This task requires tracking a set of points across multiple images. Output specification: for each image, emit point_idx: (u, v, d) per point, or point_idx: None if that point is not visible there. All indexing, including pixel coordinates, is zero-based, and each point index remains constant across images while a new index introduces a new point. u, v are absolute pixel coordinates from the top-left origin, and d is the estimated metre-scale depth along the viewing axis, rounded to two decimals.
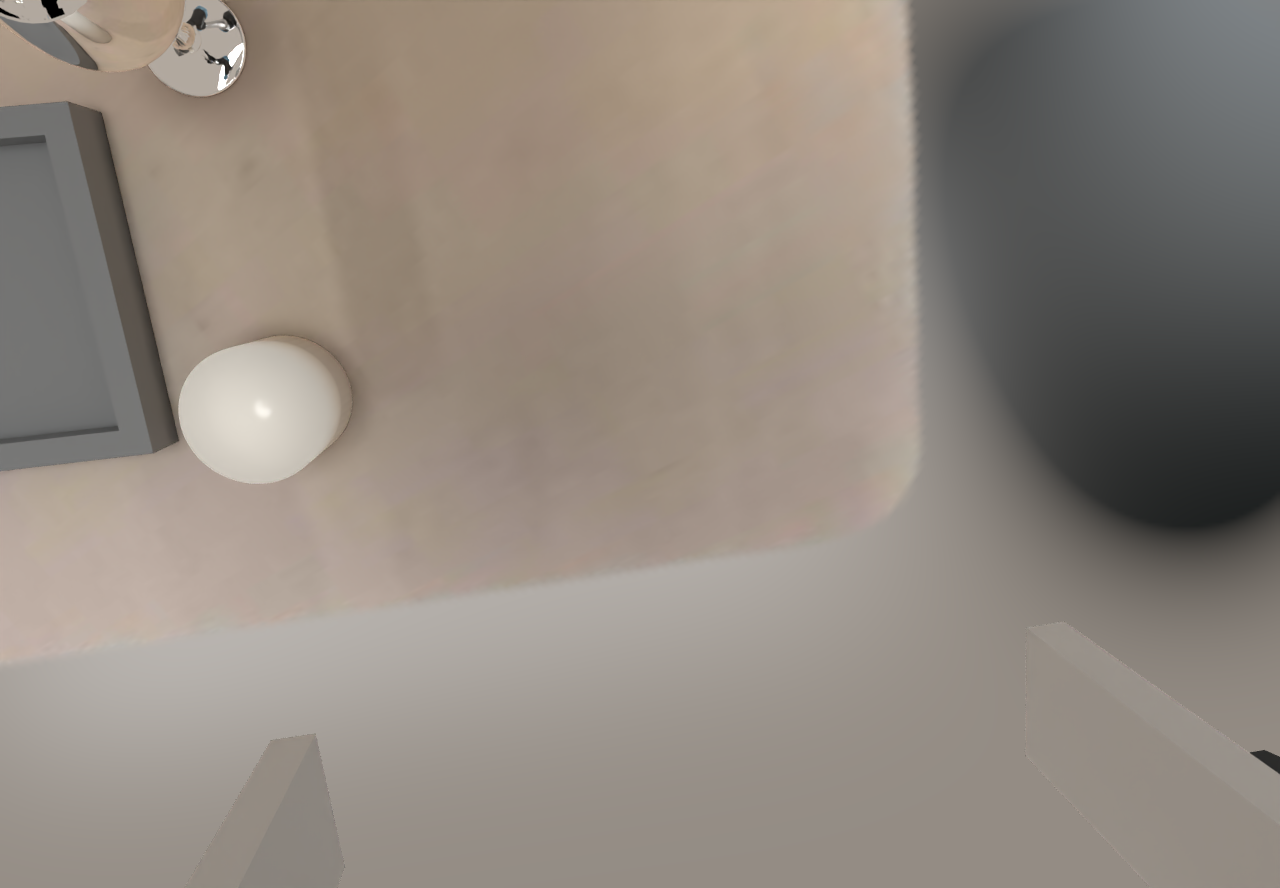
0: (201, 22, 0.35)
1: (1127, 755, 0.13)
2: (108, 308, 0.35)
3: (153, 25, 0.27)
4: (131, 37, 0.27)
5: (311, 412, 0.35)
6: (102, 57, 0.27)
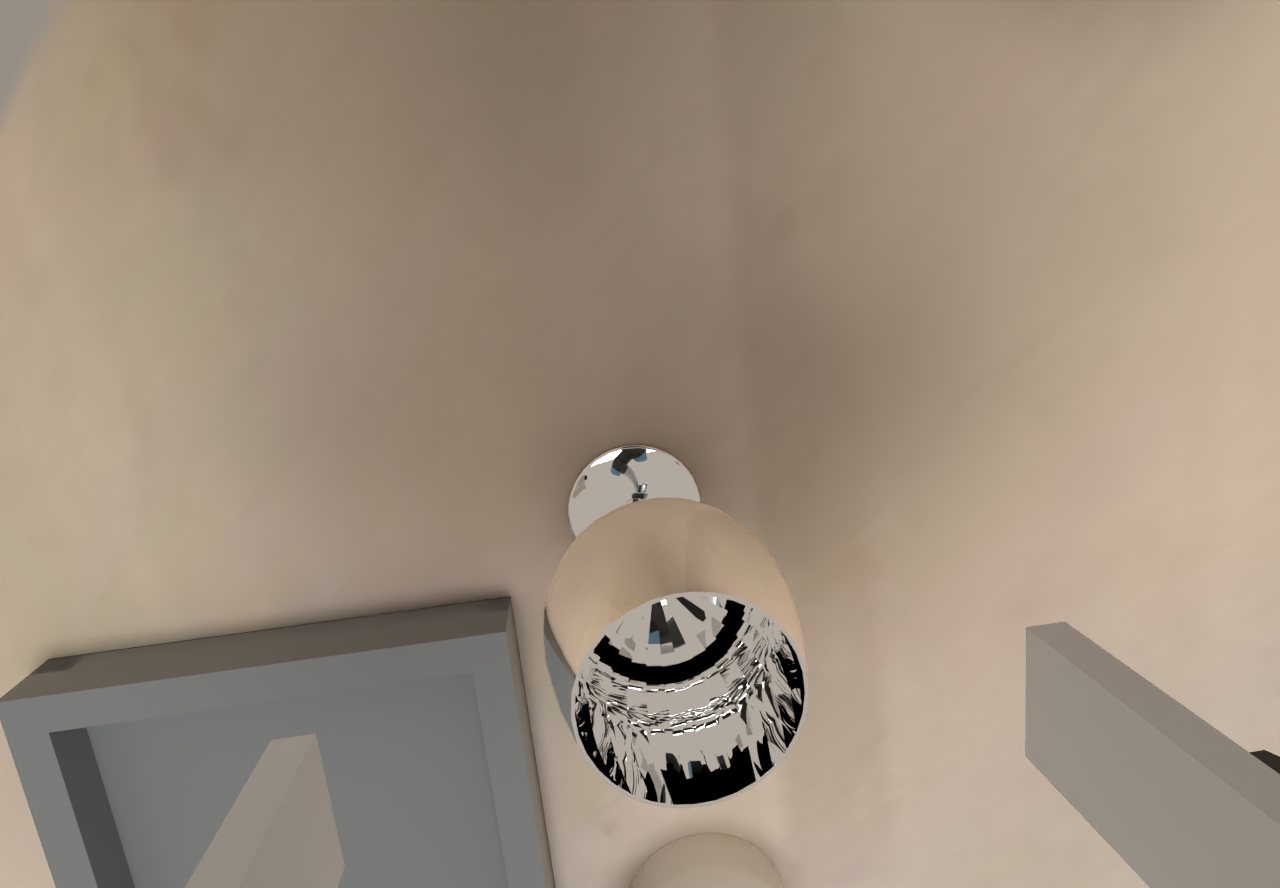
0: (655, 493, 0.27)
1: (1127, 755, 0.13)
2: (530, 864, 0.27)
3: None
4: None
5: None
6: (705, 752, 0.19)
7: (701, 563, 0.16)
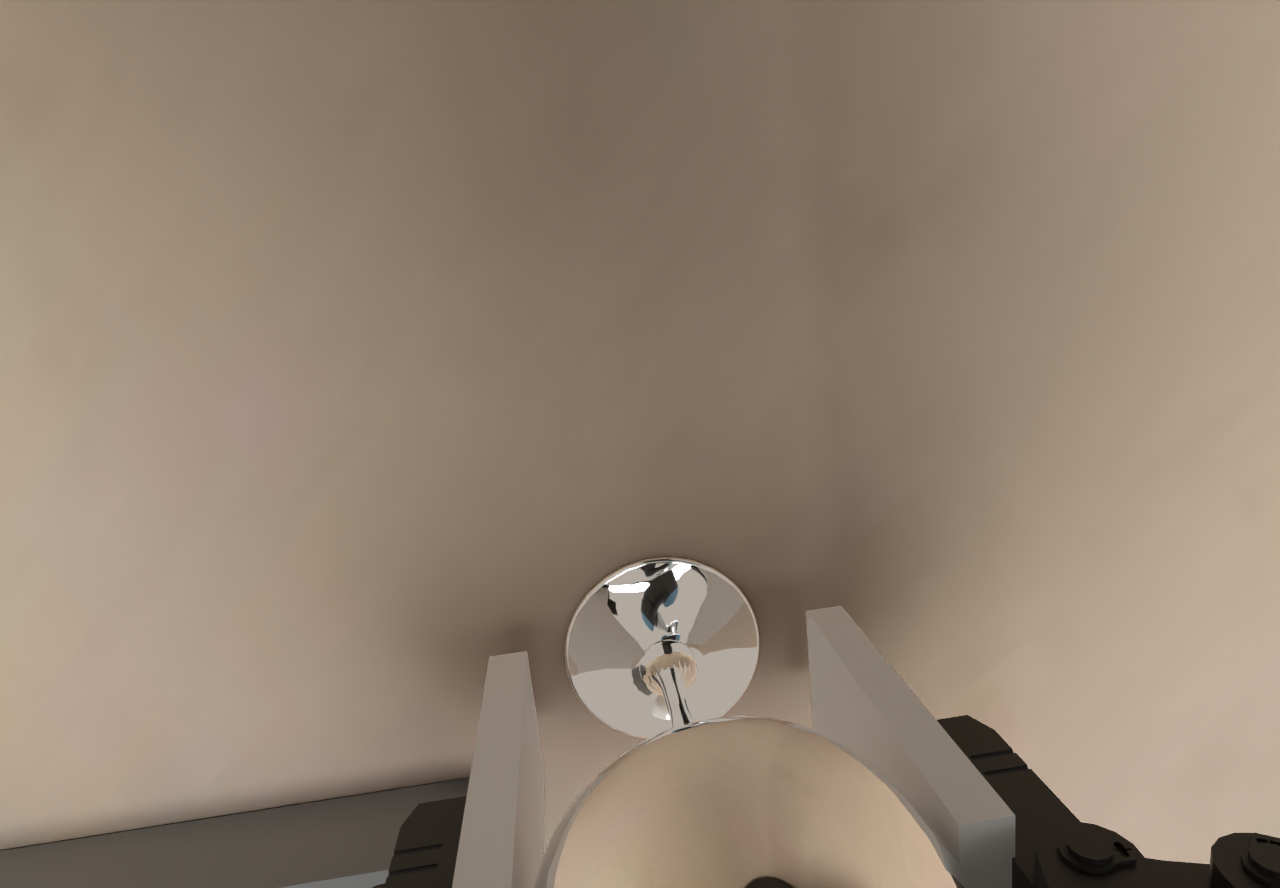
0: (695, 630, 0.18)
1: (856, 720, 0.14)
2: None
3: None
4: None
5: None
6: None
7: None
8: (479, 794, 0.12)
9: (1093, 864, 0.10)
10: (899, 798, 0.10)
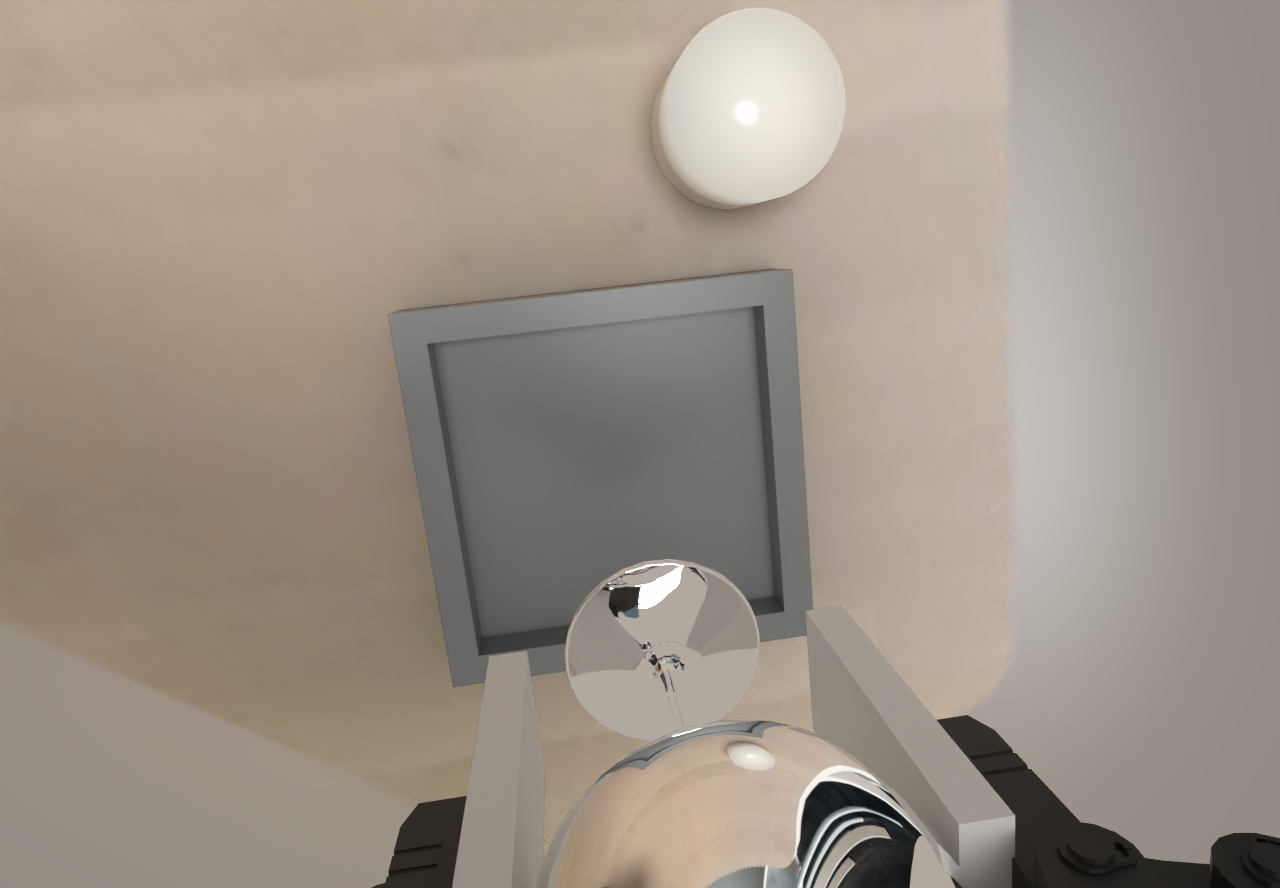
0: (695, 632, 0.18)
1: (856, 720, 0.14)
2: (620, 299, 0.30)
3: None
4: None
5: (756, 26, 0.26)
6: None
7: None
8: (479, 794, 0.12)
9: (1093, 864, 0.10)
10: (900, 802, 0.10)
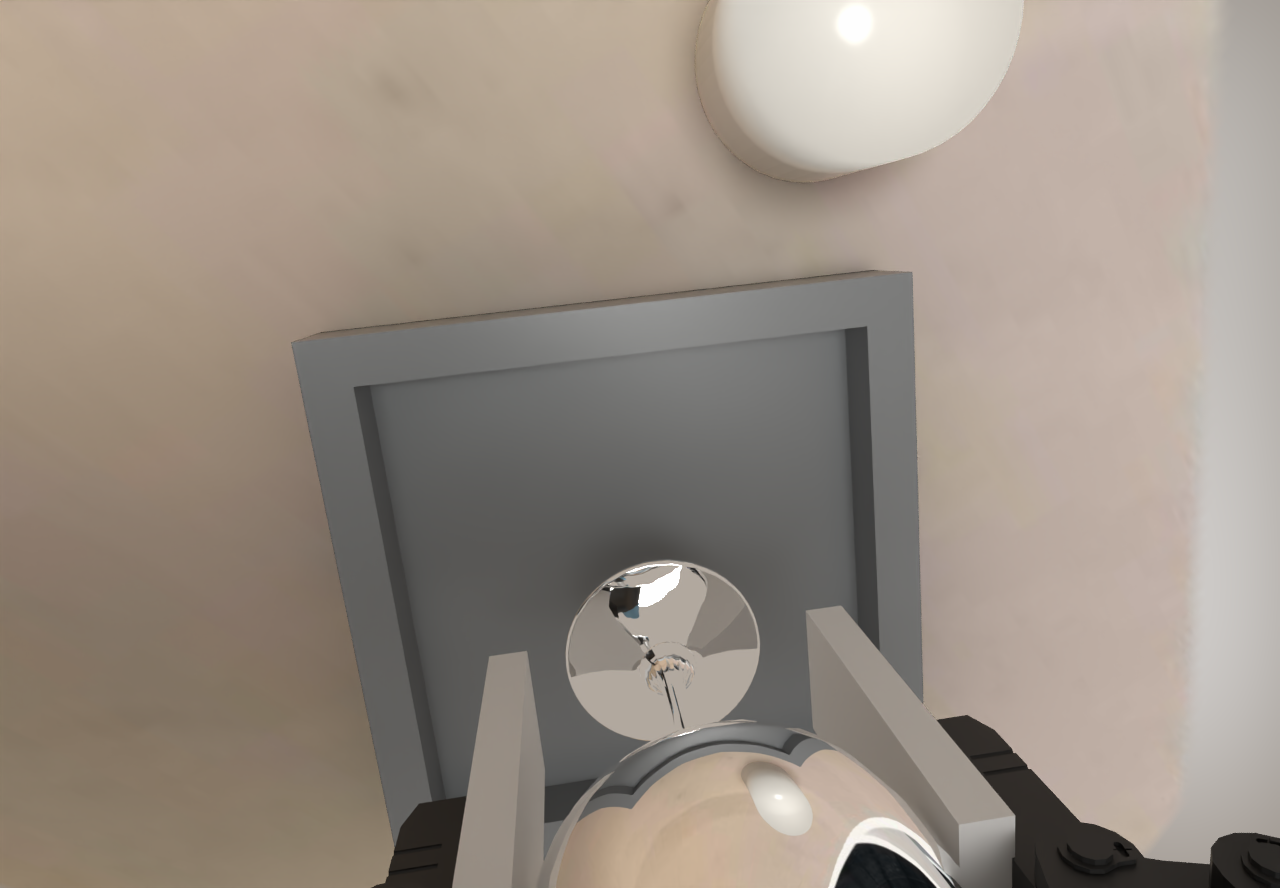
0: (695, 632, 0.18)
1: (856, 721, 0.14)
2: (651, 318, 0.20)
3: None
4: None
5: None
6: None
7: None
8: (479, 794, 0.12)
9: (1093, 864, 0.10)
10: (900, 803, 0.10)
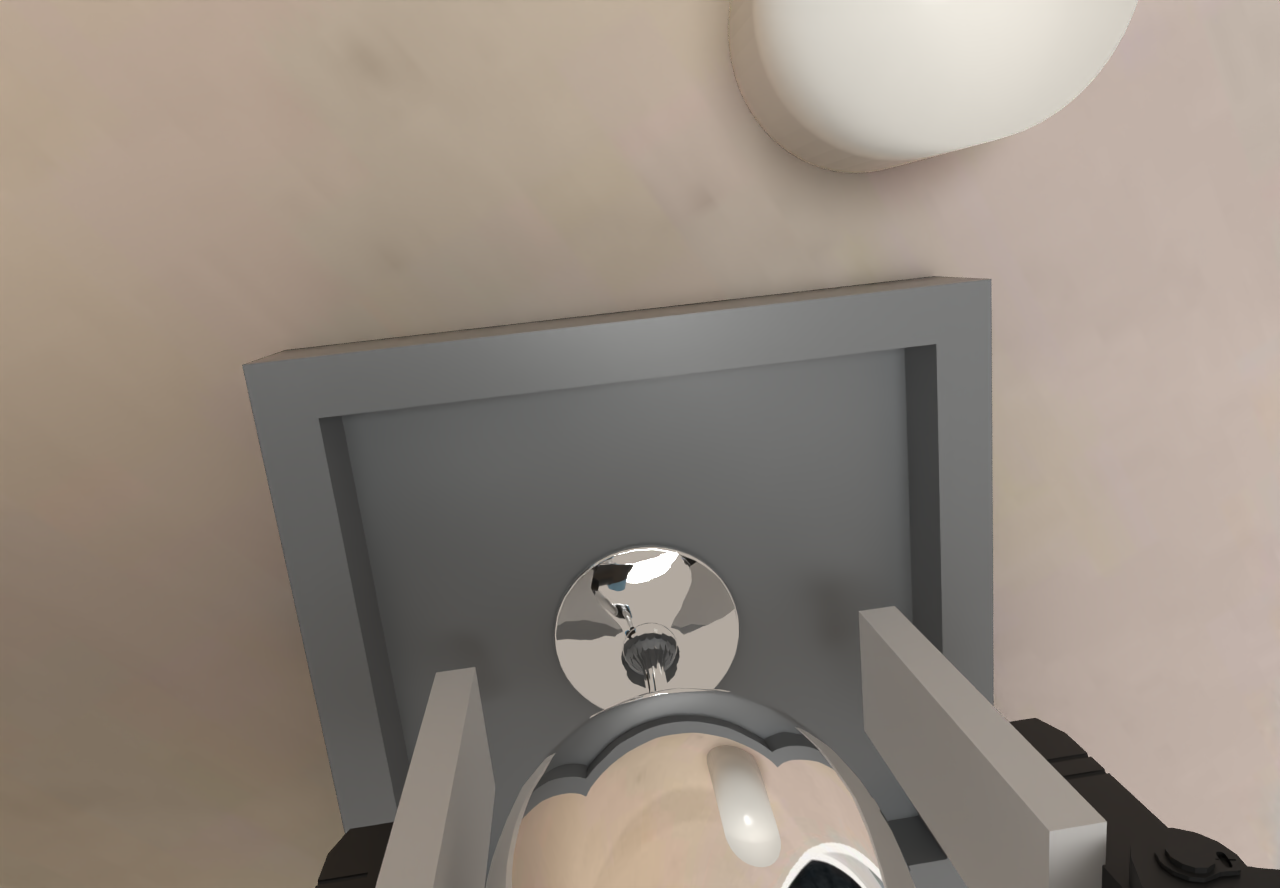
0: (677, 614, 0.19)
1: (920, 723, 0.14)
2: (678, 334, 0.16)
3: None
4: None
5: None
6: None
7: None
8: (406, 821, 0.12)
9: (1193, 872, 0.09)
10: (834, 763, 0.11)
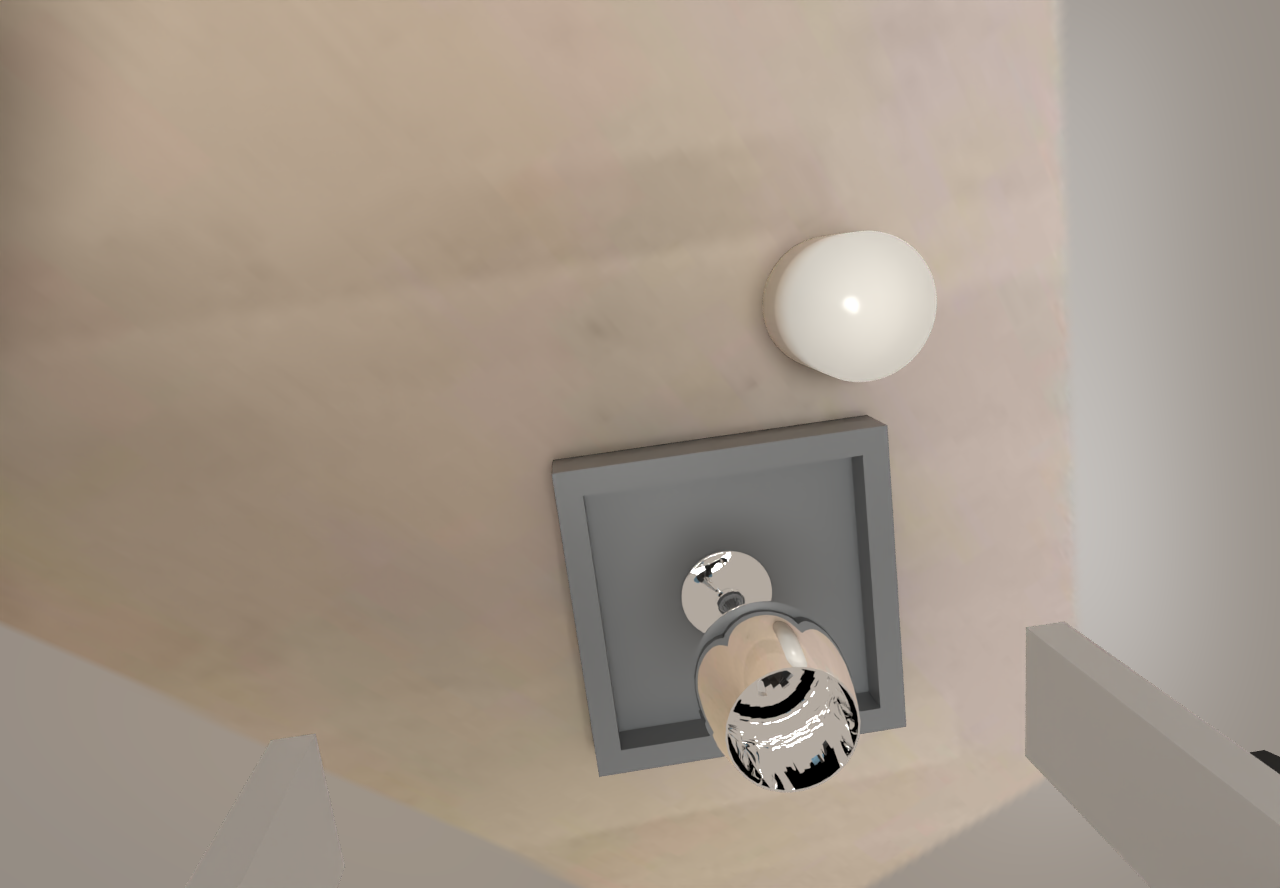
0: (742, 584, 0.38)
1: (1128, 755, 0.13)
2: (743, 454, 0.36)
3: None
4: None
5: (862, 245, 0.32)
6: (794, 761, 0.30)
7: (796, 649, 0.28)
8: None
9: None
10: (816, 622, 0.30)
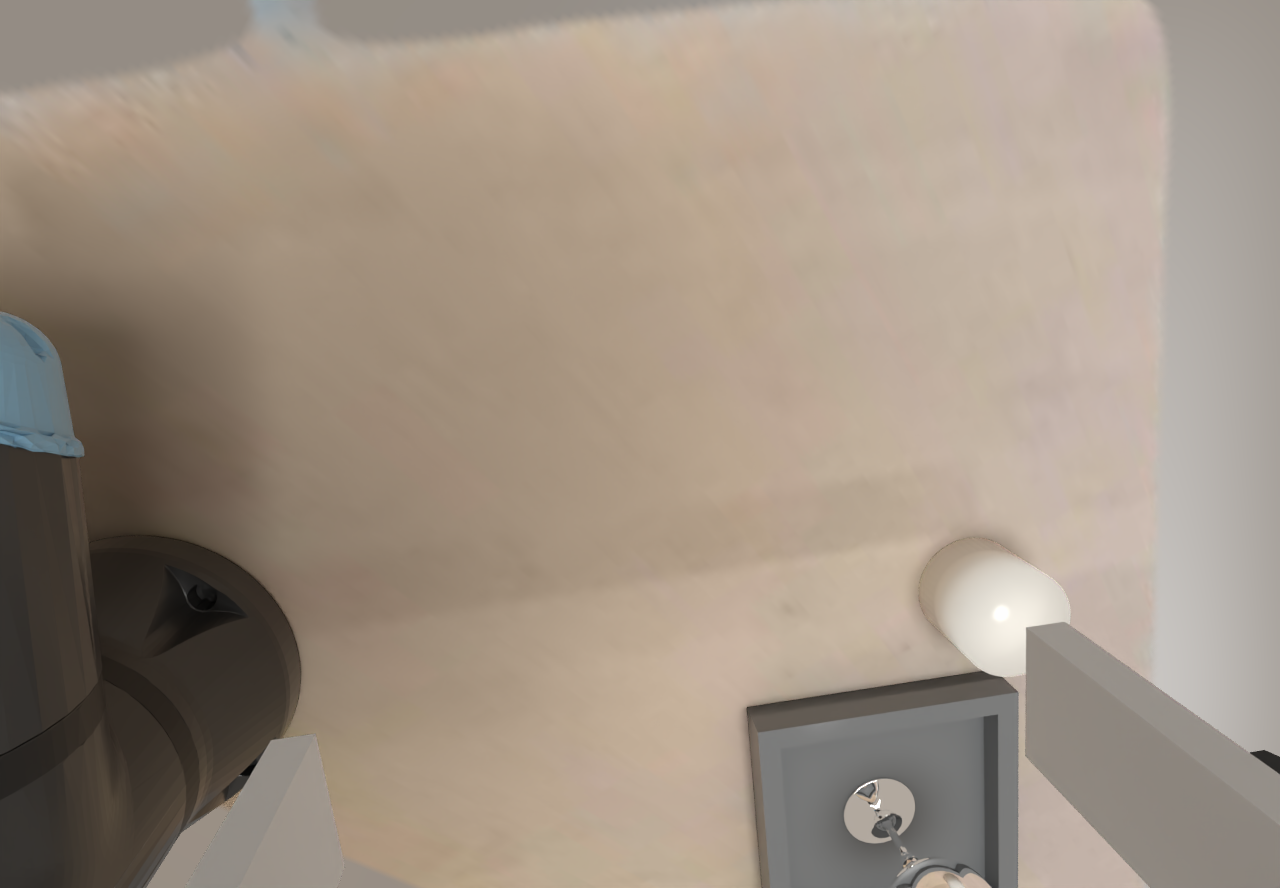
0: (894, 805, 0.48)
1: (1127, 755, 0.13)
2: (906, 715, 0.46)
3: None
4: None
5: (1017, 580, 0.42)
6: None
7: None
8: None
9: None
10: (985, 882, 0.40)
